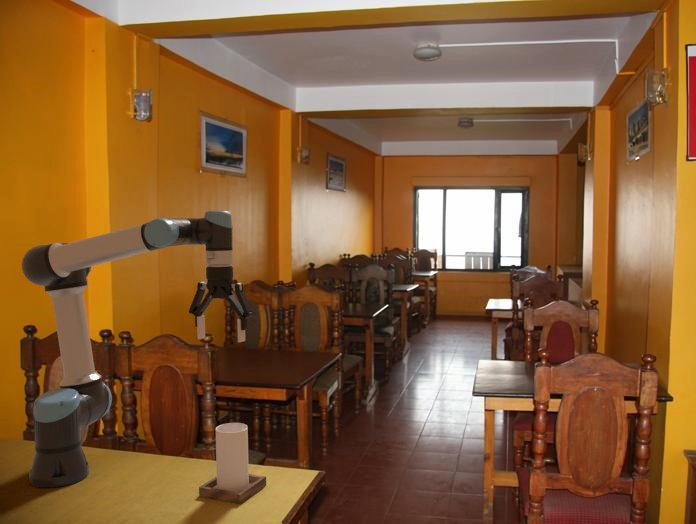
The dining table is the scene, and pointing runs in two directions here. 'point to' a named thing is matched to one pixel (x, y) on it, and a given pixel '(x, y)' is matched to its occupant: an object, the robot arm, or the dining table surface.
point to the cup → (232, 457)
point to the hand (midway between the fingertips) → (221, 340)
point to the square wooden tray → (224, 495)
